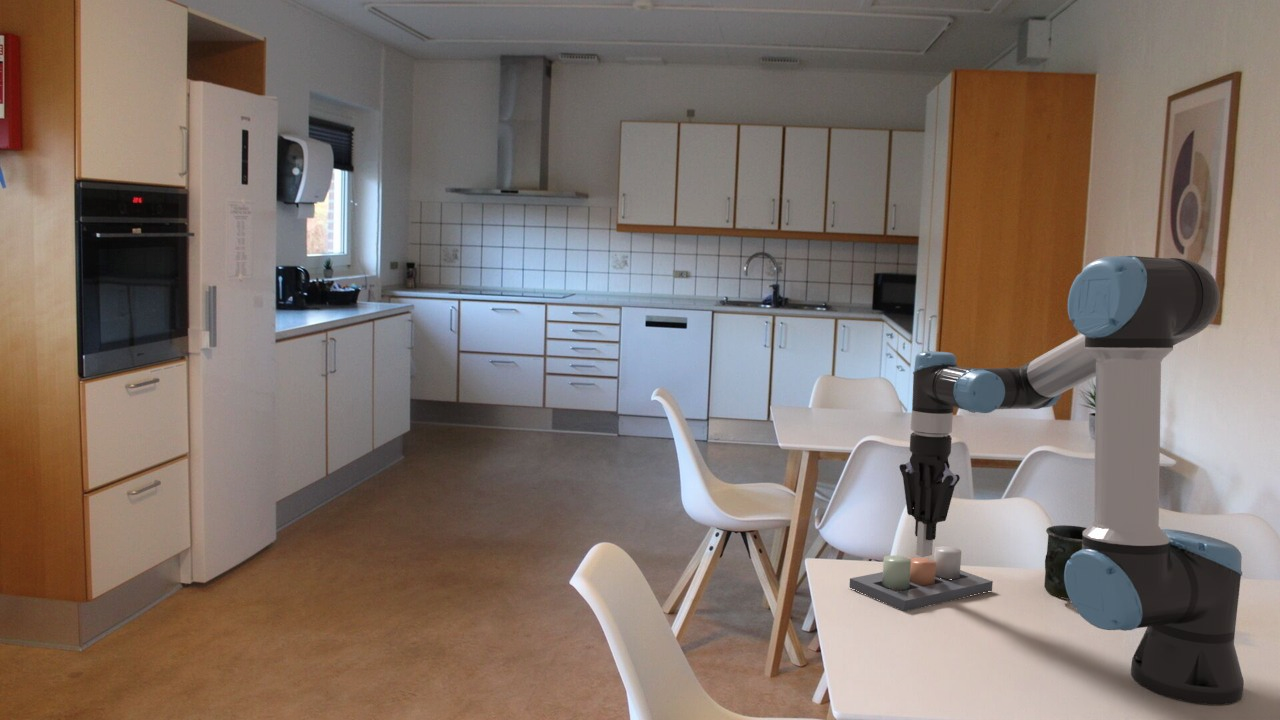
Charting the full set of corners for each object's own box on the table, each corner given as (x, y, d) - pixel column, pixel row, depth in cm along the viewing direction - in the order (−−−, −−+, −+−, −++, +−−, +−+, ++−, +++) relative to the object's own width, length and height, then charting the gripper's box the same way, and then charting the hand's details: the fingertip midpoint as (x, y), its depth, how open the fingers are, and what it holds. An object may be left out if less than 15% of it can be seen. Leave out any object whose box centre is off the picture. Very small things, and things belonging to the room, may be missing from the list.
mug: (1114, 596, 196) (1119, 535, 195) (1072, 609, 188) (1077, 546, 187) (1062, 580, 205) (1067, 522, 204) (1019, 592, 197) (1024, 532, 195)
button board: (991, 591, 197) (992, 581, 197) (904, 611, 184) (904, 600, 184) (935, 571, 208) (936, 561, 208) (849, 588, 196) (849, 578, 195)
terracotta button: (940, 588, 195) (941, 563, 195) (922, 592, 193) (923, 566, 192) (920, 581, 200) (921, 556, 199) (902, 584, 197) (903, 559, 196)
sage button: (915, 587, 191) (916, 561, 191) (896, 591, 189) (897, 564, 188) (895, 579, 196) (896, 554, 195) (876, 583, 193) (878, 557, 192)
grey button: (965, 576, 199) (966, 551, 198) (947, 580, 196) (949, 555, 196) (945, 569, 203) (946, 544, 203) (927, 572, 200) (929, 548, 200)
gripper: (972, 437, 189) (964, 561, 192) (918, 426, 200) (911, 544, 203) (944, 440, 185) (937, 566, 188) (891, 429, 196) (884, 549, 199)
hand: (924, 555), depth 195 cm, fingers closed
